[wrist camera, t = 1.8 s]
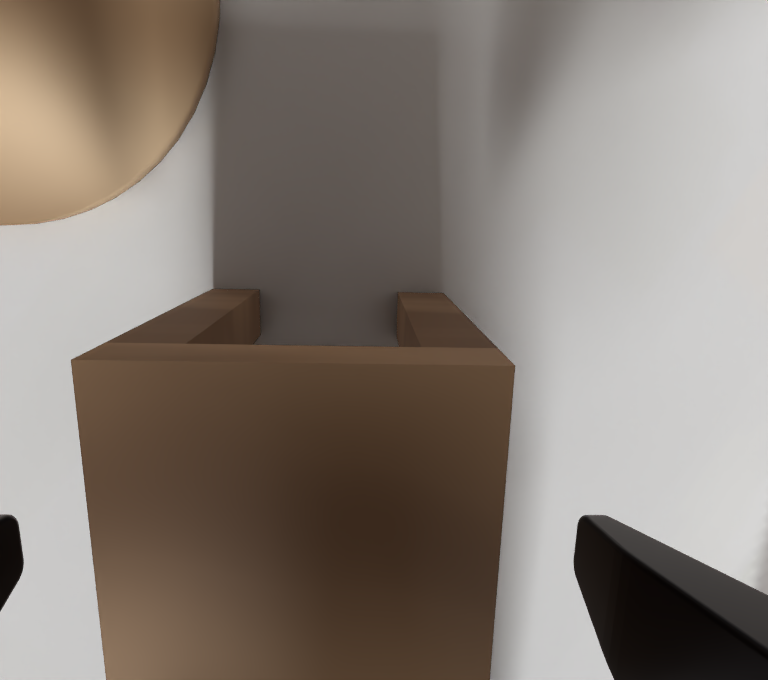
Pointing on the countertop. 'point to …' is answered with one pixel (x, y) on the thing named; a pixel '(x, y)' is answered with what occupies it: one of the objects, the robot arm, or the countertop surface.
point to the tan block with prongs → (295, 496)
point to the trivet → (94, 97)
